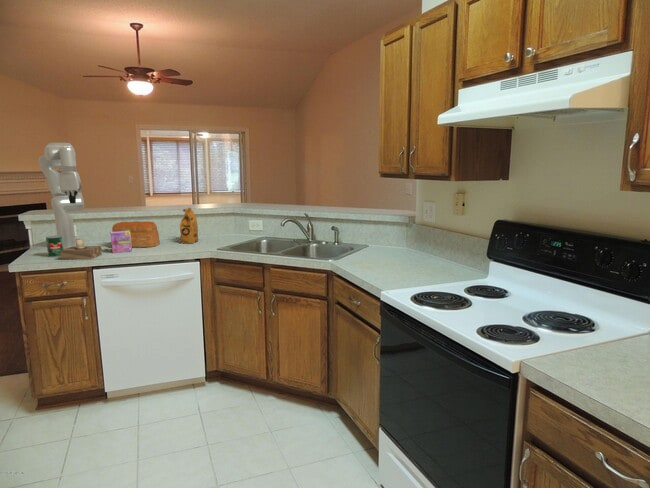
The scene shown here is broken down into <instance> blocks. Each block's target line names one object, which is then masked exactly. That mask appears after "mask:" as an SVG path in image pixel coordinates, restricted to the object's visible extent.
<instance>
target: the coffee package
mask: <svg viewBox="0 0 650 488" xmlns="http://www.w3.org/2000/svg"><path fill="white" fill-rule="evenodd" d="M182 212H184V215H183V218H182V219H181V221H180V223H179V224H180V225H179V231H180V243H181V244H182V245H183V244H184V245H185V244H186V245H187V244H188V245H190V244H195V243H197V242H198V241H199V230H198V229H199V228H198V220H197V217H196V214H195V212H194V211H193V209H192V208H191V206H190V207H188V208H184V209H183V210H182Z"/></svg>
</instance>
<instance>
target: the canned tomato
mask: <svg viewBox="0 0 650 488" xmlns="http://www.w3.org/2000/svg"><path fill="white" fill-rule="evenodd" d="M45 240H46V241H45V242H46V249H47V257H48V258H58V257H60V258H61V253H60V251H61V250H64V248H63V240H62V236H60V235H57V234H56V235H48V236H46V237H45Z"/></svg>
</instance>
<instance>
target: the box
mask: <svg viewBox="0 0 650 488" xmlns="http://www.w3.org/2000/svg"><path fill="white" fill-rule="evenodd" d="M109 233H110V241H111V251H112V254H119V253H126V252H127V253H128V252H133V247H132V245H131V235H130V231H129V230H128V231H117V232H112V231H110V232H109Z"/></svg>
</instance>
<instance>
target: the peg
mask: <svg viewBox="0 0 650 488" xmlns="http://www.w3.org/2000/svg"><path fill="white" fill-rule="evenodd" d="M75 239H76V247H77V249H85V246H86V245H85V239H84V238H75Z"/></svg>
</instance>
